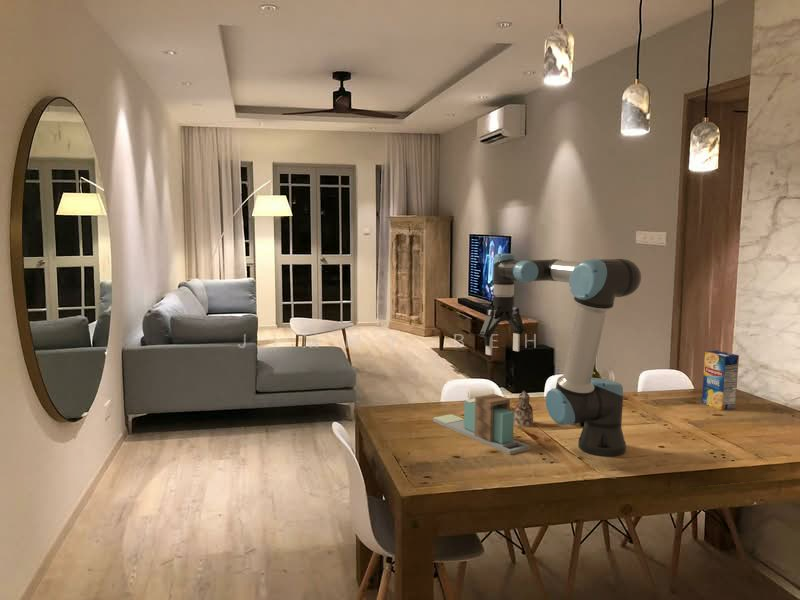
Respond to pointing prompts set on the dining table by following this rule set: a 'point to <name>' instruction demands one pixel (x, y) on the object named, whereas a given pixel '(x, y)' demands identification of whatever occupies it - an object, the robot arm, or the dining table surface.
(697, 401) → the dining table surface
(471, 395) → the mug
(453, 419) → the track board
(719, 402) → the blue cardboard box
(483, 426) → the tunnel
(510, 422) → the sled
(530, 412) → the figurine
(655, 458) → the dining table surface
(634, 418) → the dining table surface
